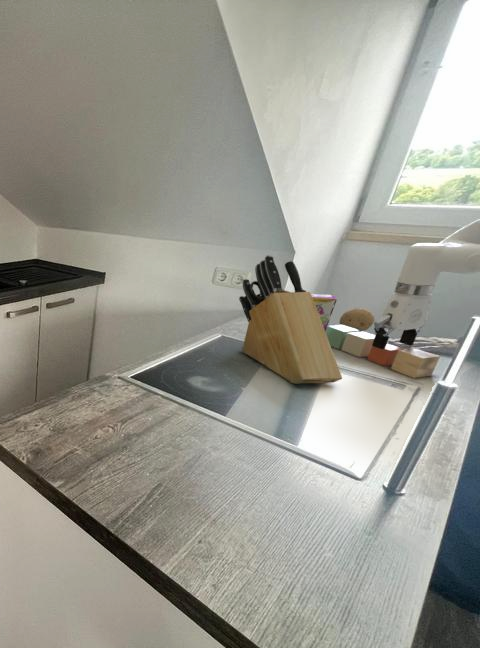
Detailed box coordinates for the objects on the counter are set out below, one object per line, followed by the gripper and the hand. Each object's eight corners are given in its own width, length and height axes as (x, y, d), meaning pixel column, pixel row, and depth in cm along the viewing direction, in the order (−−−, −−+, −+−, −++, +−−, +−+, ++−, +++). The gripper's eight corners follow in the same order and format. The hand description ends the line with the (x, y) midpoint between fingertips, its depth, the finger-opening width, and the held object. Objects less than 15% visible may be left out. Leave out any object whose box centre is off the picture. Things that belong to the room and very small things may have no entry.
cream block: (356, 348, 128) (362, 331, 126) (375, 355, 123) (382, 337, 120) (341, 350, 127) (347, 332, 125) (359, 357, 122) (366, 339, 119)
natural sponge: (360, 341, 133) (371, 313, 129) (330, 334, 140) (339, 307, 136) (372, 336, 137) (382, 309, 133) (341, 329, 145) (350, 303, 140)
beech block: (407, 367, 114) (415, 348, 112) (431, 375, 109) (440, 356, 107) (390, 369, 114) (398, 350, 111) (413, 377, 108) (422, 358, 106)
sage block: (336, 340, 134) (342, 324, 132) (353, 347, 129) (359, 330, 126) (321, 342, 133) (326, 325, 131) (338, 348, 128) (344, 331, 126)
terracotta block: (380, 357, 121) (386, 343, 119) (398, 364, 116) (404, 349, 114) (366, 359, 120) (372, 344, 118) (384, 365, 116) (390, 350, 114)
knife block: (256, 341, 136) (280, 251, 124) (340, 388, 104) (383, 272, 91) (224, 342, 136) (245, 252, 123) (298, 389, 104) (336, 274, 91)
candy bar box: (283, 342, 134) (296, 296, 128) (279, 337, 139) (292, 292, 132) (322, 345, 131) (338, 298, 124) (316, 340, 135) (331, 294, 129)
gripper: (402, 295, 104) (380, 353, 111) (455, 289, 107) (430, 347, 114) (373, 289, 111) (354, 344, 118) (423, 283, 114) (402, 338, 120)
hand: (392, 345), depth 116 cm, fingers open, 9 cm apart
